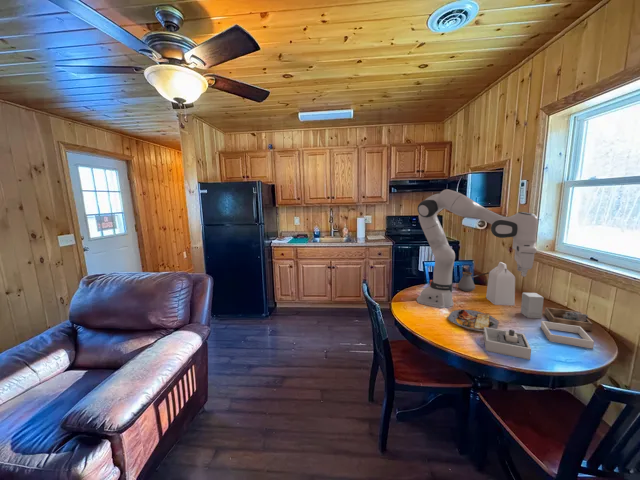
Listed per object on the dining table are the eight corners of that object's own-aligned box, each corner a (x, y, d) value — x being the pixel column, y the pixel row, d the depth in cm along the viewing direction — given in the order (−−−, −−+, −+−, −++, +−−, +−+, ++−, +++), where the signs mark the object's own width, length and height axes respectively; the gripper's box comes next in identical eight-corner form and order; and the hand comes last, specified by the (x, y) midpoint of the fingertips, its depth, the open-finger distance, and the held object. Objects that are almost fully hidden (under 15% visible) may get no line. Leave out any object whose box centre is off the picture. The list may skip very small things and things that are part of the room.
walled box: (485, 350, 119) (486, 340, 118) (483, 336, 131) (484, 326, 130) (530, 360, 111) (531, 349, 110) (523, 343, 123) (524, 333, 123)
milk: (514, 305, 165) (518, 265, 161) (494, 304, 167) (497, 265, 163) (504, 298, 177) (507, 260, 173) (486, 297, 179) (488, 260, 175)
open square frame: (549, 341, 125) (550, 334, 124) (540, 327, 138) (541, 320, 137) (593, 348, 118) (594, 341, 117) (579, 333, 131) (580, 326, 130)
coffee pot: (457, 291, 193) (458, 271, 190) (457, 286, 203) (458, 267, 200) (492, 294, 184) (493, 274, 181) (489, 289, 194) (491, 269, 191)
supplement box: (542, 318, 147) (544, 297, 145) (527, 318, 148) (529, 296, 146) (534, 313, 154) (536, 292, 152) (520, 312, 155) (522, 292, 153)
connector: (505, 348, 119) (507, 331, 118) (504, 343, 123) (505, 327, 121) (516, 350, 117) (518, 333, 116) (514, 345, 121) (516, 329, 120)
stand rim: (552, 325, 139) (553, 318, 139) (544, 313, 153) (545, 307, 152) (591, 331, 132) (592, 323, 132) (579, 318, 145) (580, 311, 145)
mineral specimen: (567, 332, 141) (589, 329, 138) (572, 328, 135) (595, 324, 132) (556, 315, 147) (577, 311, 144) (560, 310, 140) (582, 306, 138)
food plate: (455, 309, 163) (455, 303, 162) (500, 319, 148) (500, 313, 147) (444, 326, 144) (444, 320, 143) (494, 339, 129) (495, 333, 128)
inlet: (499, 349, 118) (500, 341, 117) (497, 340, 126) (497, 332, 125) (524, 354, 114) (525, 346, 113) (520, 344, 122) (521, 336, 121)
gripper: (512, 242, 137) (510, 267, 139) (520, 249, 119) (517, 278, 121) (527, 242, 134) (524, 268, 136) (537, 250, 116) (534, 280, 118)
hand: (521, 273), depth 129 cm, fingers open, 8 cm apart
